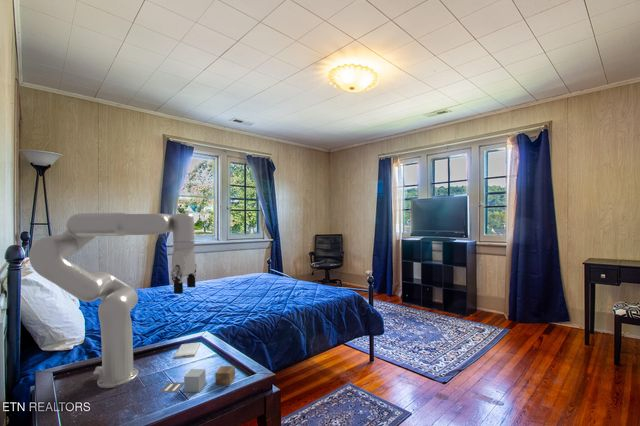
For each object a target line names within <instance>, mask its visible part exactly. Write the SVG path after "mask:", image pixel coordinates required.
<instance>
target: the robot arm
mask: <svg viewBox="0 0 640 426" xmlns="http://www.w3.org/2000/svg"><path fill="white" fill-rule="evenodd" d="M66 221H67V222H66V224H65V225H66V230H65V231H64V232H63V233H61V234H56V235H49V236H44V237H41V238H40V239H38V240H36V241H35V242H34V243H32V245H31V247H30V249H29V254H28V257H29V258H28V259H29V263H30V266H31V268H32V269H33V271H35V272H36V273H37V275H39V276H41V277H42V278H44V279H46V280H47V281H49V282H51V283H52V284H55V285H56V286H58V287H59V288H60V289H62V290H63V291H65V292H67V293H68V294H70V295H71V296H73V297H75V298H76V299H78V300H80V301H81V302H84V303H92V302H94V301H96V300H98V299H99V300H101V301H100V303H99V305H98V311H97V313H98V314H97V316H98V319H99V324H100V335H101V336H100V337H101V338H100V340H101V343H100V344H101V362H102V363H101V365H100V366H96V367H95V369H94V371H93V375H94V376H99V377H98V379H97V382H96V383H97V384H96V385H97V387H98V388H101V389H102V388H103V389H112V388H117V387H118V386H120V385H124V384H126V383H128V382H130V381H132V380H133V379H135V378H136V377H138V375H139V370H138V368H136V367H134V349H133V348H134V347H133V346H134V345H133V344H134V343H133V323H132V318H131V311H132V309H134V308H135V306H136V305H137V303H138V301H139V294H138V293H137V291H136V290H135V289H134V288H132V287H131V285H128V284H127V283H125V282H124V281H122V280H121V279H119V278H117V277H116V276H114V275H113V274H111V273H108V272H105V271H95V272H92V273H91V272H89V271H87V270H85V269H84V268H82V267H81V266H79V265H78V264H76V263H74V262H72V261H70V260H67V259H66V258H68V257H72V256H73V255H75V254H76V253H78V252H80V251H81V250H82V249H83V248H84V247H85V246H86V245H87V244H89V243H90V242H91V241H92V240H94V239H95V238H96V237H125V236H143V235H144V236H145V235H147V236H150V235H151V236H154V235H162V234H166V233H172V249H173V250H172V256H171V272H170V276H171V280H172V284H173V294H178V295H180V294H183V293H184V283H183V282H182V281H183V279H184V277H186V287H187V288H195V287H196V275H197V267H198V266H197V264H196V258H195V257H196V256H195V229H194V228H195V225H194V224H195V223H194V221H195V220H194V215H193V214H192V213H175V214H168V213H126V212H79V213H76V214H73V215H71V216H70V217H69V218H68V219H67V220H66Z"/></svg>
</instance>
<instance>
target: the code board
mask: <svg viewBox="0 0 640 426" xmlns="http://www.w3.org/2000/svg"><path fill="white" fill-rule="evenodd" d="M207 384H208V382H206V384H205V385H204V386H203V388H202V389H201V390H200V391H199V392H184V390H183V391H182V393H183V394H186V393H187V394H200V393H201V392H202V391H203V390H204V389H205V388H206V386H207ZM182 387H184V382H170V381H169V382H168V383H167V384H166V385H165V386H164V387H163V388H161V390H160V391H159V393H175V394H176V393H178V391H179V390H180V389H182Z"/></svg>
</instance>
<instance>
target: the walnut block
mask: <svg viewBox="0 0 640 426" xmlns="http://www.w3.org/2000/svg"><path fill="white" fill-rule="evenodd" d="M235 368H236V367H235V365H234V366H233V365H220V367H219V368H218V369H217V371H215V373H214V375H215V377H214V378H215V386H225V387H227V386H228V387H230V386H231V385H232V383H233V381H235V378H236V369H235Z"/></svg>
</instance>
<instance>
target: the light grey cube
mask: <svg viewBox="0 0 640 426" xmlns="http://www.w3.org/2000/svg"><path fill="white" fill-rule="evenodd" d="M206 379H207V377H206V368H191V369H189V371H188V372H187V373H186V374H185V375H184V376H183V383H184V385H183V387H184V388H183V389H184V390H183V391H184V392H199V391H200V390H201V389H202V388H203V386H204V385H205V384H206V383H207V382H206ZM203 389H204V388H203Z"/></svg>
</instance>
